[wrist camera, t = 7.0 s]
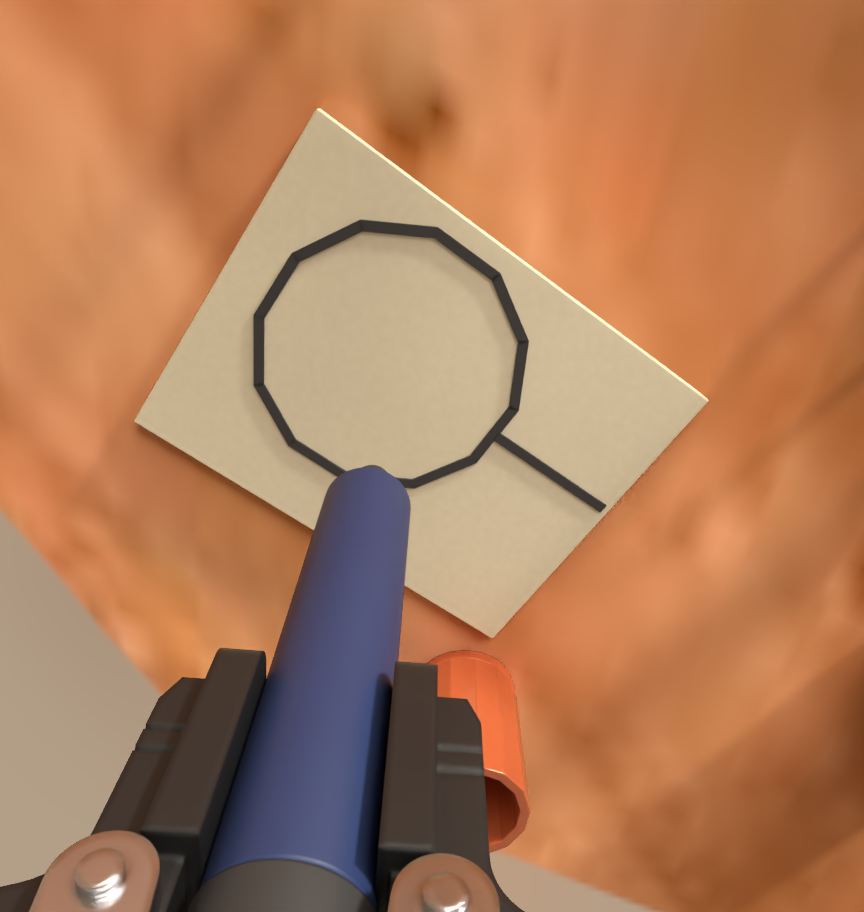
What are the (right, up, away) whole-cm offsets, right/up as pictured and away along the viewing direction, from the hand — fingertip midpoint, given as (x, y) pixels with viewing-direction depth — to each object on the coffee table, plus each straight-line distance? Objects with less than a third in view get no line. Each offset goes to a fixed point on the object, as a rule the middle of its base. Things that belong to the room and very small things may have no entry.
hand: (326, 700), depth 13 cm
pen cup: (+3, -7, +23) cm, 25 cm away
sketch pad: (+1, +6, +18) cm, 19 cm away
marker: (0, +3, +8) cm, 9 cm away
